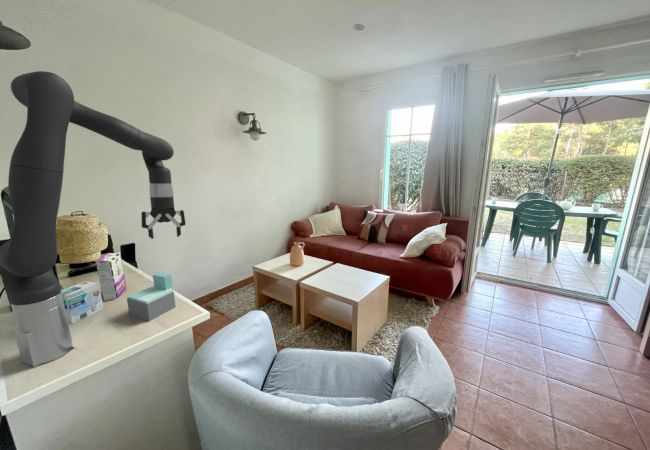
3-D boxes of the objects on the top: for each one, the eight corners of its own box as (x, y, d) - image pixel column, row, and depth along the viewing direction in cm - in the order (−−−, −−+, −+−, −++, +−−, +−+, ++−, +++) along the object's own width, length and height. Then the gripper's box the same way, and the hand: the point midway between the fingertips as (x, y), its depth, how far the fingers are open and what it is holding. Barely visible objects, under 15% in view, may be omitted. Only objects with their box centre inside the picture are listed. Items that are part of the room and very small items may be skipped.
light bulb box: (72, 325, 87) (66, 295, 84) (56, 323, 88) (50, 293, 86) (105, 309, 97) (100, 282, 95) (90, 307, 98) (85, 280, 96)
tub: (149, 323, 88) (147, 304, 87) (129, 317, 92) (126, 298, 90) (175, 309, 97) (173, 291, 96) (156, 304, 101) (154, 287, 100)
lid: (147, 306, 87) (145, 287, 86) (128, 300, 91) (125, 283, 89) (176, 292, 97) (174, 275, 96) (158, 287, 101) (155, 271, 99)
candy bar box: (112, 289, 113) (106, 253, 109) (126, 287, 115) (121, 252, 111) (102, 301, 103) (95, 261, 99) (117, 299, 104) (111, 260, 101)
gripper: (137, 196, 92) (142, 241, 95) (183, 196, 99) (186, 237, 102) (139, 195, 98) (144, 237, 101) (182, 194, 106) (185, 233, 108)
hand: (165, 237), depth 102 cm, fingers open, 8 cm apart
